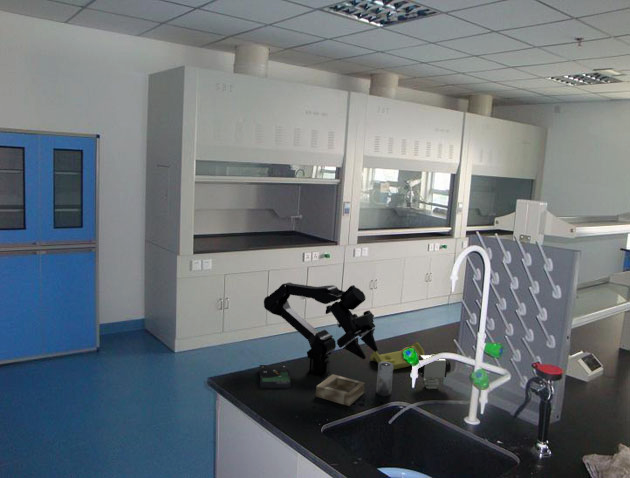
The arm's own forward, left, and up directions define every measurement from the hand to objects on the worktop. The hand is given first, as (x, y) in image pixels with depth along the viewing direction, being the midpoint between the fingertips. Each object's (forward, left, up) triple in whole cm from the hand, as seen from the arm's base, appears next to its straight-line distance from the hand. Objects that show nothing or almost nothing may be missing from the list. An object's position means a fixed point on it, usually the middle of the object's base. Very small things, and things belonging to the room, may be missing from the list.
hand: (370, 354), depth 174 cm
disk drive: (-30, -12, -13) cm, 35 cm away
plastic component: (+1, +27, -12) cm, 30 cm away
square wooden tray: (-5, -10, -12) cm, 17 cm away
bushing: (+6, 0, -12) cm, 13 cm away
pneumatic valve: (+18, +14, -12) cm, 25 cm away
